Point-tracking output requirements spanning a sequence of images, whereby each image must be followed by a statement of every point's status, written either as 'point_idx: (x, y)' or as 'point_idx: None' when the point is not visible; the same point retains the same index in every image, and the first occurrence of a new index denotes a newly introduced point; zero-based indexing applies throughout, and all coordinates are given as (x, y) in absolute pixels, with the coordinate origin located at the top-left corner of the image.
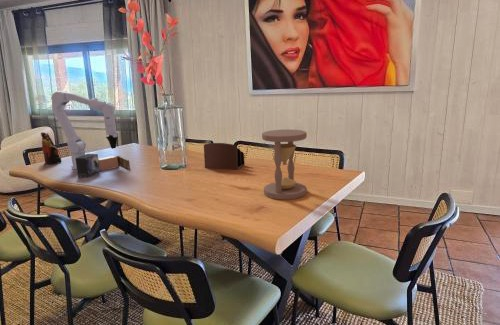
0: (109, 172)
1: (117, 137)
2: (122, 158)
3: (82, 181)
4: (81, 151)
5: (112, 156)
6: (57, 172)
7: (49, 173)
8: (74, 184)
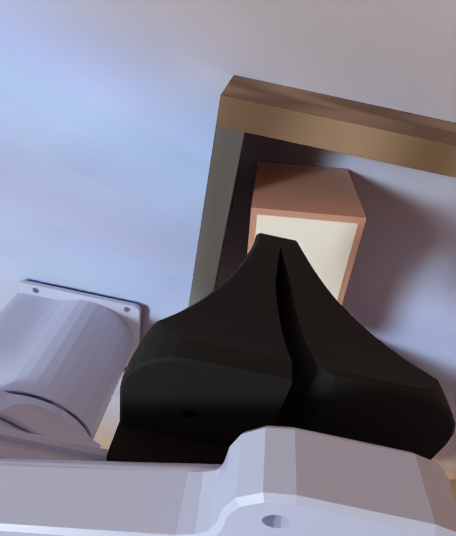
0: (444, 306)
1: (439, 393)
2: (434, 171)
3: (446, 447)
4: (71, 439)
5: (283, 235)
6: (117, 417)
7: (109, 435)
8: (452, 475)
